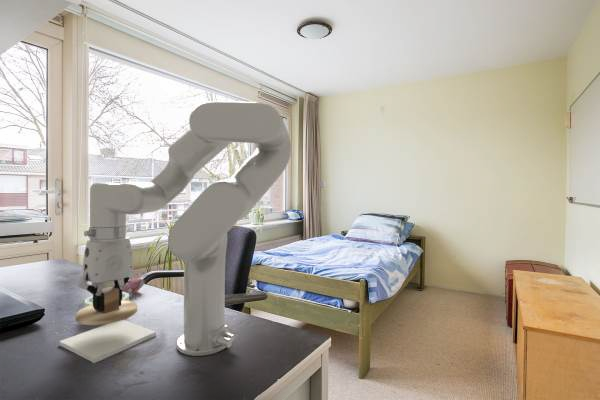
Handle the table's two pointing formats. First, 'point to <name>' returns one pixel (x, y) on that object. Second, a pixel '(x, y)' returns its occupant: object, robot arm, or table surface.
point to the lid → (107, 310)
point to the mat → (107, 340)
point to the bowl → (90, 300)
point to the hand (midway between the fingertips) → (107, 306)
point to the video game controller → (133, 286)
